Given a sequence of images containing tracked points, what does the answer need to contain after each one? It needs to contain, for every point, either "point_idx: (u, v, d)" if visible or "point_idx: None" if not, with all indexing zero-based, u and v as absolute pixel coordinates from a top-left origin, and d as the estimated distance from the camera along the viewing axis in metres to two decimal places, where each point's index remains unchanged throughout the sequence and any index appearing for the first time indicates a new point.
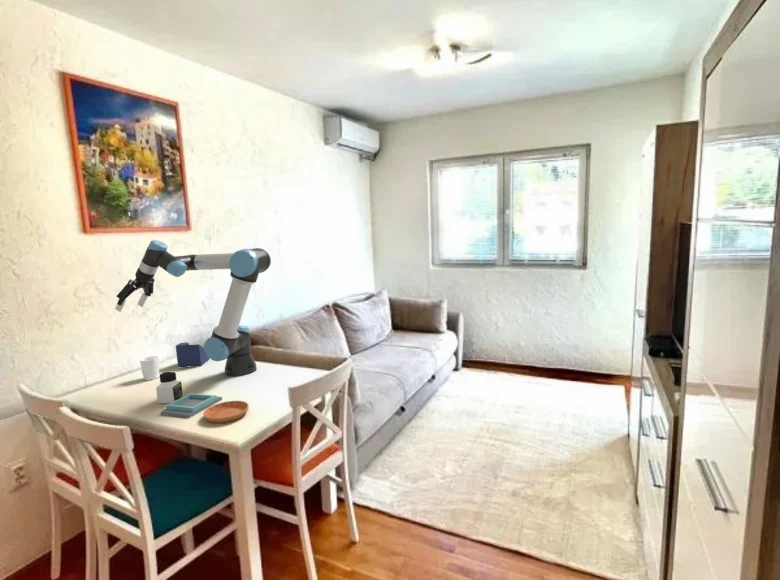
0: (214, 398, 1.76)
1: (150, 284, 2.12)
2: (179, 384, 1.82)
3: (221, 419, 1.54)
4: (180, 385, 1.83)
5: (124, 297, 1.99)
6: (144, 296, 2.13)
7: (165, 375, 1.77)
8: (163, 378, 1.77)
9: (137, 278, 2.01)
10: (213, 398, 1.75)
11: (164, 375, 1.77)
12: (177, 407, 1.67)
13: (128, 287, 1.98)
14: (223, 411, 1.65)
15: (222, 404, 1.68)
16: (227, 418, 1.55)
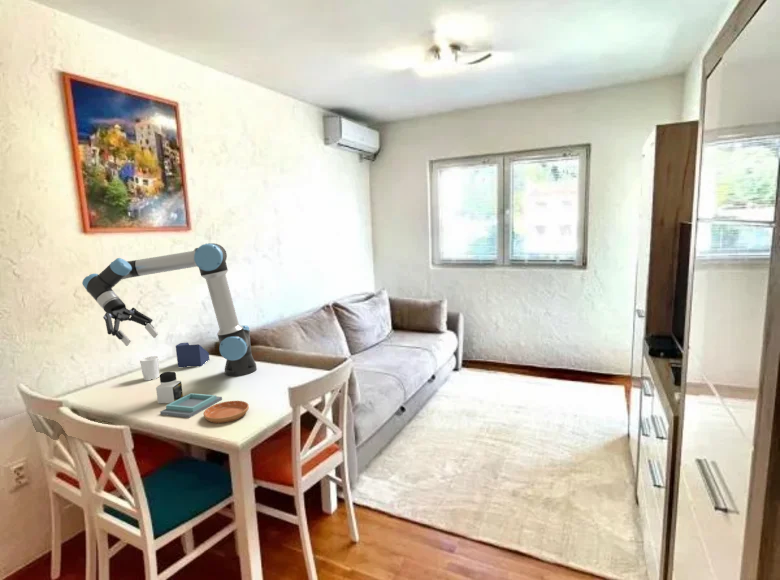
0: (214, 398, 1.76)
1: (137, 314, 1.89)
2: (179, 384, 1.82)
3: (221, 419, 1.54)
4: (180, 385, 1.83)
5: (115, 328, 1.75)
6: (147, 326, 1.89)
7: (165, 375, 1.77)
8: (163, 378, 1.77)
9: (109, 312, 1.81)
10: (213, 398, 1.75)
11: (164, 375, 1.77)
12: (177, 407, 1.67)
13: (107, 320, 1.76)
14: (223, 411, 1.65)
15: (222, 404, 1.68)
16: (227, 418, 1.55)
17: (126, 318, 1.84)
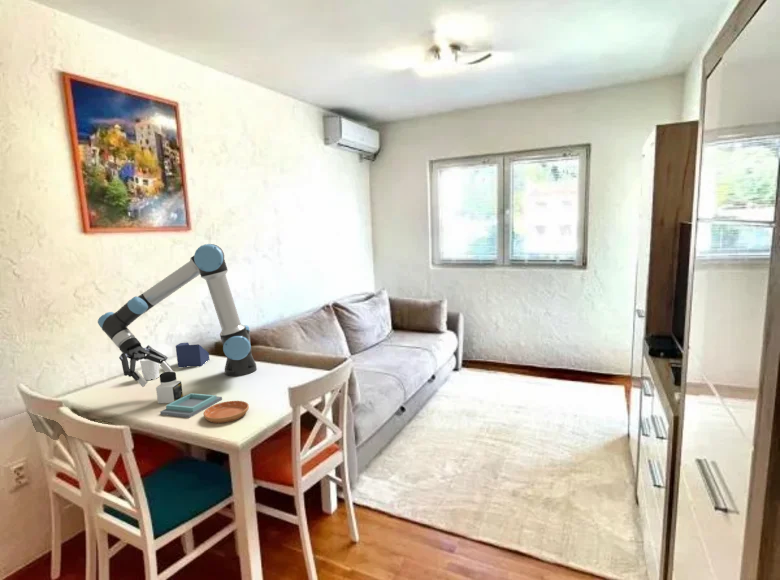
0: (214, 398, 1.76)
1: (152, 351, 1.88)
2: (179, 384, 1.82)
3: (221, 419, 1.54)
4: (180, 385, 1.83)
5: (131, 369, 1.74)
6: (162, 364, 1.88)
7: (165, 375, 1.77)
8: (163, 378, 1.77)
9: (125, 351, 1.80)
10: (213, 398, 1.75)
11: (164, 375, 1.77)
12: (177, 407, 1.67)
13: (123, 360, 1.75)
14: (223, 411, 1.65)
15: (222, 404, 1.68)
16: (227, 418, 1.55)
17: (142, 357, 1.83)
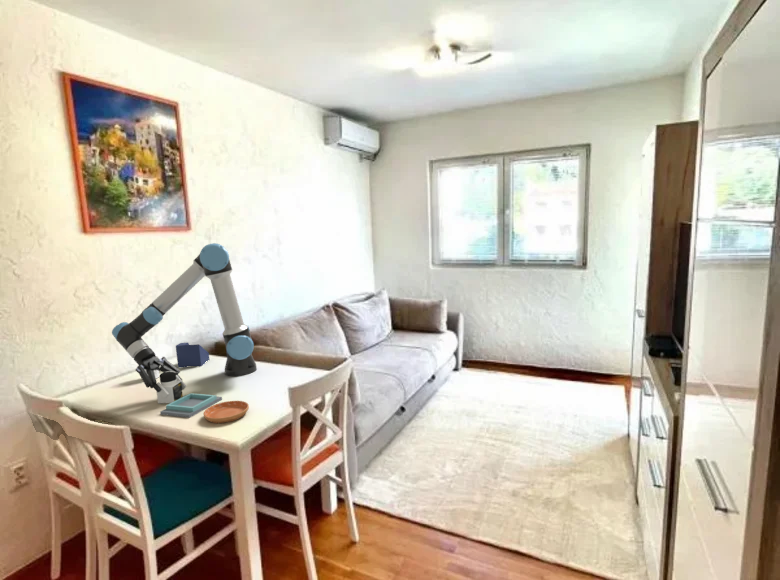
0: (214, 398, 1.76)
1: (166, 363, 1.87)
2: (179, 384, 1.82)
3: (221, 419, 1.54)
4: (180, 385, 1.83)
5: (153, 381, 1.75)
6: None
7: (165, 375, 1.77)
8: (163, 378, 1.77)
9: (139, 362, 1.79)
10: (213, 398, 1.75)
11: (164, 375, 1.77)
12: (177, 407, 1.67)
13: (142, 372, 1.75)
14: (223, 411, 1.65)
15: (222, 404, 1.68)
16: (227, 418, 1.55)
17: (156, 367, 1.82)
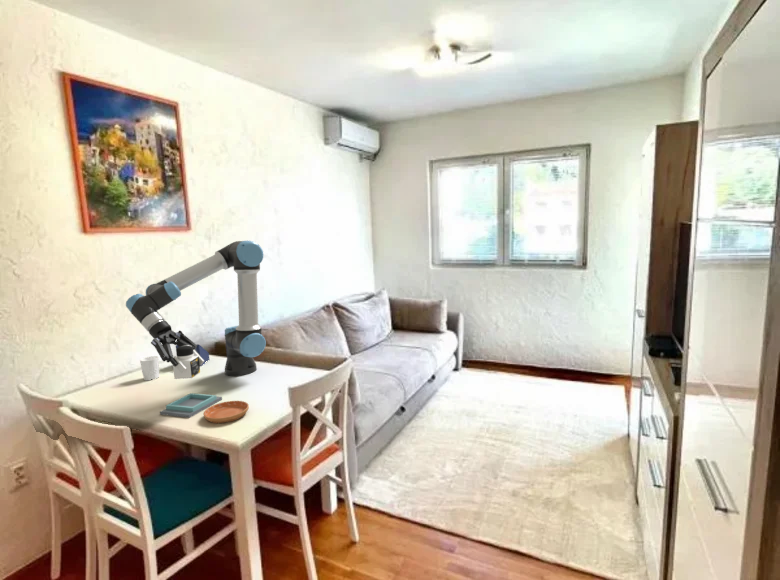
0: (214, 398, 1.76)
1: (182, 337, 1.77)
2: (196, 359, 1.72)
3: (221, 419, 1.54)
4: (197, 360, 1.72)
5: (169, 354, 1.65)
6: None
7: (182, 349, 1.67)
8: (179, 352, 1.67)
9: (155, 335, 1.69)
10: (213, 398, 1.75)
11: (181, 349, 1.67)
12: (177, 407, 1.67)
13: (157, 346, 1.65)
14: (223, 411, 1.65)
15: (222, 404, 1.68)
16: (227, 418, 1.55)
17: (173, 341, 1.72)
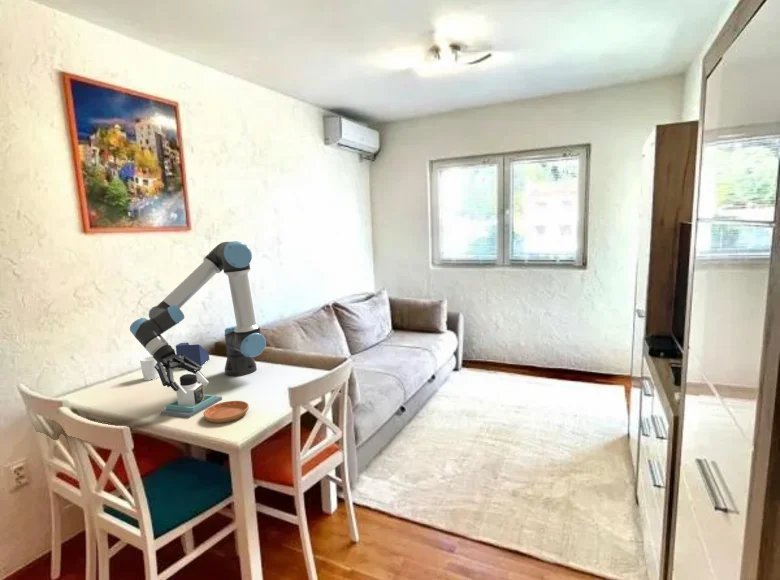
0: (214, 398, 1.76)
1: (186, 360, 1.78)
2: (200, 387, 1.73)
3: (221, 419, 1.54)
4: (201, 388, 1.74)
5: (170, 379, 1.65)
6: (197, 374, 1.77)
7: (185, 378, 1.68)
8: (183, 381, 1.68)
9: (159, 359, 1.70)
10: (213, 398, 1.75)
11: (184, 378, 1.68)
12: (177, 407, 1.67)
13: (160, 370, 1.66)
14: (223, 411, 1.65)
15: (222, 404, 1.68)
16: (227, 418, 1.55)
17: (176, 365, 1.73)
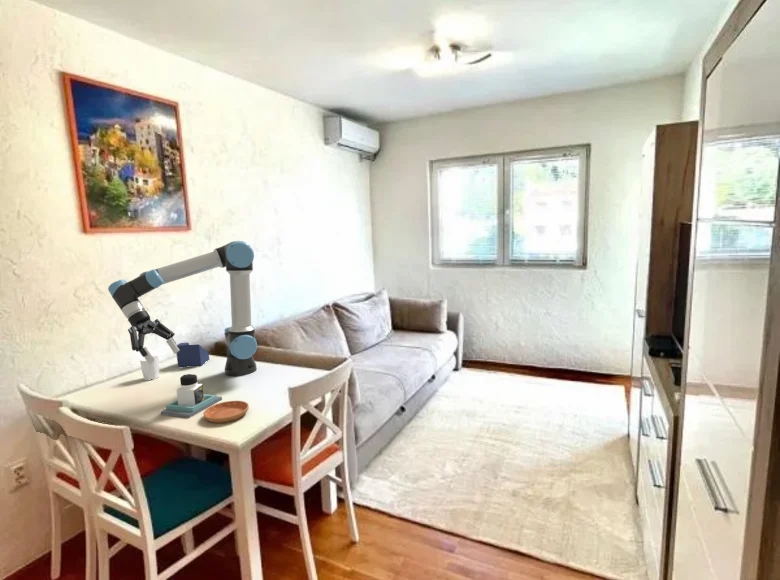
0: (214, 398, 1.76)
1: (160, 326, 1.84)
2: (200, 387, 1.73)
3: (221, 419, 1.54)
4: (201, 388, 1.74)
5: (140, 344, 1.70)
6: (169, 340, 1.84)
7: (186, 378, 1.69)
8: (184, 381, 1.68)
9: (134, 324, 1.75)
10: (213, 398, 1.75)
11: (185, 378, 1.69)
12: (177, 407, 1.67)
13: (132, 334, 1.71)
14: (223, 411, 1.65)
15: (222, 404, 1.68)
16: (227, 418, 1.55)
17: (150, 332, 1.79)
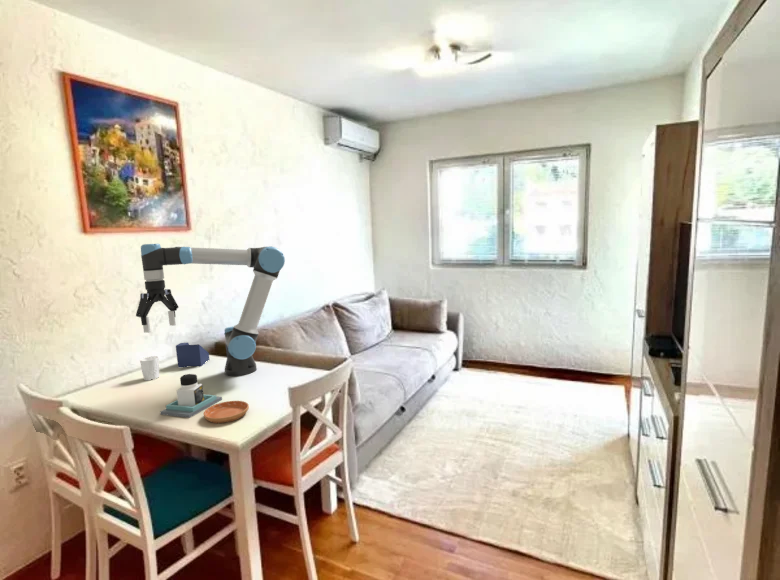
0: (214, 398, 1.76)
1: (169, 296, 1.91)
2: (200, 387, 1.73)
3: (221, 419, 1.54)
4: (201, 388, 1.74)
5: (144, 314, 1.79)
6: (171, 312, 1.92)
7: (186, 378, 1.69)
8: (184, 381, 1.68)
9: (148, 290, 1.81)
10: (213, 398, 1.75)
11: (185, 378, 1.69)
12: (177, 407, 1.67)
13: (142, 301, 1.78)
14: (223, 411, 1.65)
15: (222, 404, 1.68)
16: (227, 418, 1.55)
17: None
